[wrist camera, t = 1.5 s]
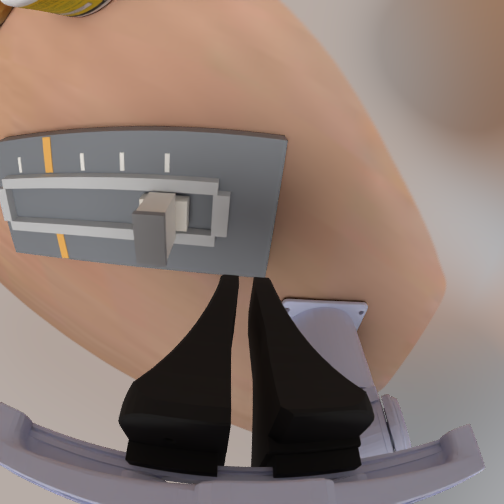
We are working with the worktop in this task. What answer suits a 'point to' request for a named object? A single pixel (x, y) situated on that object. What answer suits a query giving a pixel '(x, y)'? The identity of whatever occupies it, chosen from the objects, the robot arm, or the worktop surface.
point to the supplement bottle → (60, 6)
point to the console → (144, 181)
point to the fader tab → (158, 226)
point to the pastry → (4, 11)
